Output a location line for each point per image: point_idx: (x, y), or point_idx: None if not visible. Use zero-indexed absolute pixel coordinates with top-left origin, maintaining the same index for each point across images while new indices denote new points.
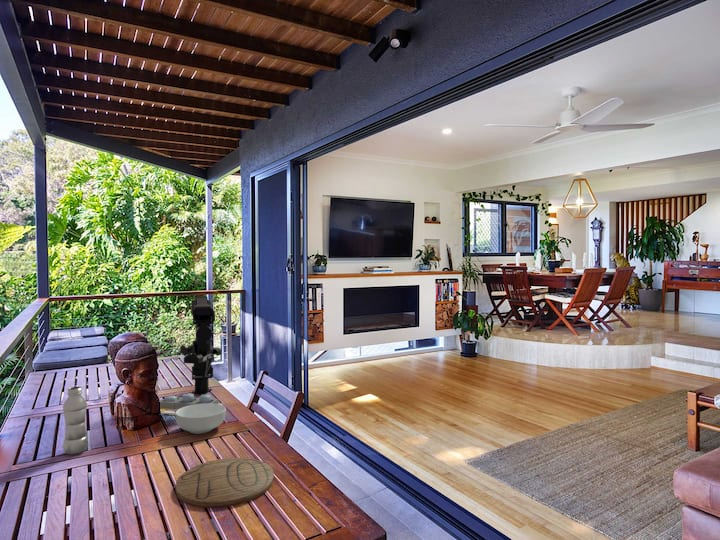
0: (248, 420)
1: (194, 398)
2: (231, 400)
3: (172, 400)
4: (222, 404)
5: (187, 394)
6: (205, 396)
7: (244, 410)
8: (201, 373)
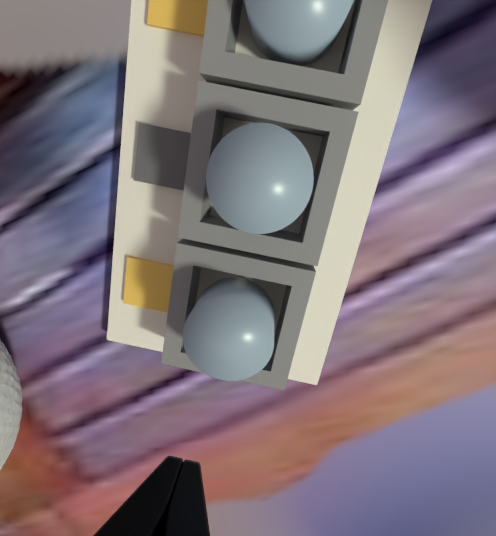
0: (93, 516)
1: (317, 214)
2: (424, 401)
3: (253, 28)
4: (308, 382)
5: (277, 168)
6: (214, 345)
7: (229, 487)
8: (123, 511)
